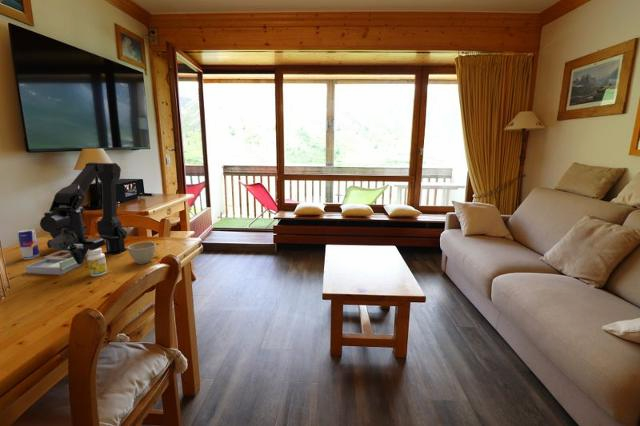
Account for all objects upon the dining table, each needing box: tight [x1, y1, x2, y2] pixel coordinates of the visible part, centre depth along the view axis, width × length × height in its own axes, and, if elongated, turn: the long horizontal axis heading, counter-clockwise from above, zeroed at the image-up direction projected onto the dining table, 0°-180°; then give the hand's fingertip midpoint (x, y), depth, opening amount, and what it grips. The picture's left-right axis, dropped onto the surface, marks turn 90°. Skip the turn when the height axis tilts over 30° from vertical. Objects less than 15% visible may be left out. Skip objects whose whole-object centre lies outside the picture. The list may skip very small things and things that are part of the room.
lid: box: [48, 257, 77, 270], centre depth 118 cm, size 7×7×3 cm
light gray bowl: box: [127, 241, 157, 265], centre depth 126 cm, size 10×10×7 cm
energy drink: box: [16, 228, 40, 260], centre depth 129 cm, size 5×5×12 cm
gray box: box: [24, 258, 83, 276], centre depth 119 cm, size 14×9×3 cm, turn 85°
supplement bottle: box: [86, 247, 108, 277], centre depth 114 cm, size 5×5×10 cm
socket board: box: [42, 250, 73, 260], centre depth 128 cm, size 8×8×2 cm
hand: (80, 264), depth 117 cm, fingers closed
